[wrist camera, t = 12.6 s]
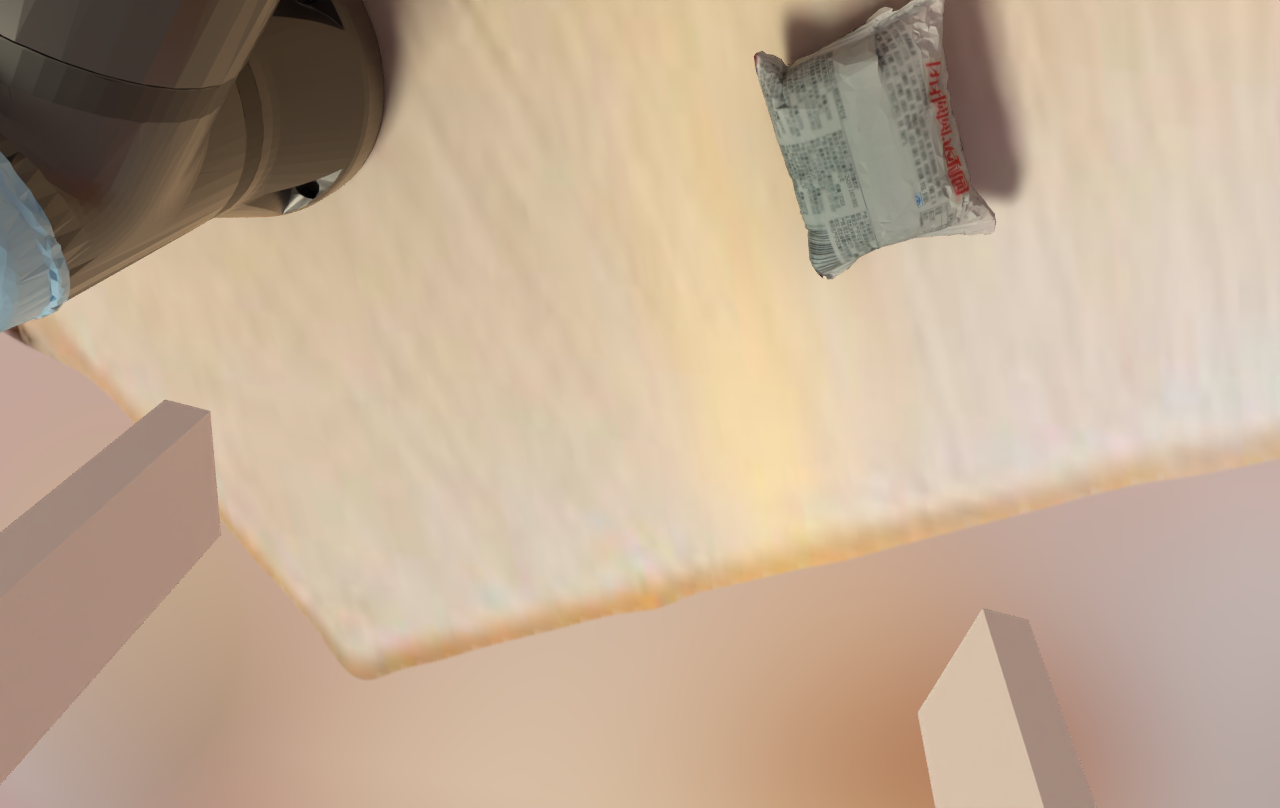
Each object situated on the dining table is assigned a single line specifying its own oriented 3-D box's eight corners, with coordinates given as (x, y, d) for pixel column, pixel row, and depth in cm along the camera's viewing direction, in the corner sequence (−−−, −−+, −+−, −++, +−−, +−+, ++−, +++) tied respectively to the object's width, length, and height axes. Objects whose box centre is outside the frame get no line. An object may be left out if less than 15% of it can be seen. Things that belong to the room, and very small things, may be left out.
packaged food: (938, -27, 36) (959, -18, 32) (988, 219, 41) (1011, 255, 37) (749, 48, 39) (745, 65, 35) (818, 271, 44) (821, 309, 40)
